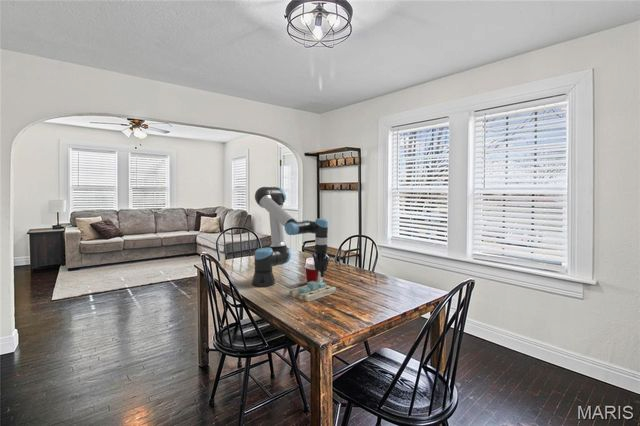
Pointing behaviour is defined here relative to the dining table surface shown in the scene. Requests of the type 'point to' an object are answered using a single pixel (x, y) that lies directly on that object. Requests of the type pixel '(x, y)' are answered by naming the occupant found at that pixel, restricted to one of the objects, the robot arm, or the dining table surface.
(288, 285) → the dining table surface
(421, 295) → the dining table surface
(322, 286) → the button
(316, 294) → the board
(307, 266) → the plastic cup
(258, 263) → the robot arm
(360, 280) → the dining table surface
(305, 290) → the button
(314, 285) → the button
